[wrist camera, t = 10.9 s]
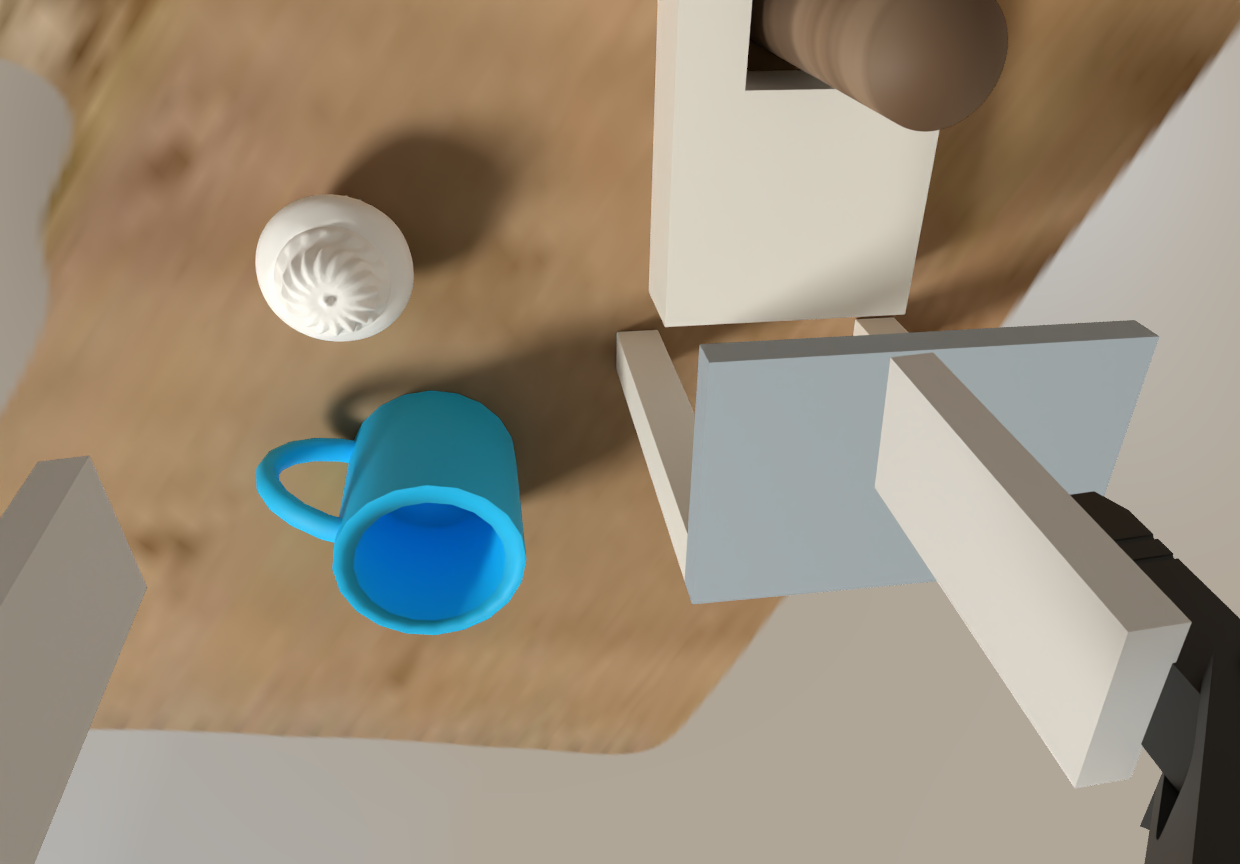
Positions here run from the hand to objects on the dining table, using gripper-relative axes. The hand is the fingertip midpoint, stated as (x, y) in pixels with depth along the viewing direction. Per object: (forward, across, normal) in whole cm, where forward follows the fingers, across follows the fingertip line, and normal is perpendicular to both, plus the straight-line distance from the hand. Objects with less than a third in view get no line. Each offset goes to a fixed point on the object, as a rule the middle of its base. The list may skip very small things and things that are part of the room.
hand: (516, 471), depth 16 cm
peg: (+27, +13, +3) cm, 30 cm away
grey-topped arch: (+27, +12, -9) cm, 31 cm away
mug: (+27, -6, -16) cm, 32 cm away
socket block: (+27, +13, -2) cm, 30 cm away
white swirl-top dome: (+27, -6, -5) cm, 28 cm away
